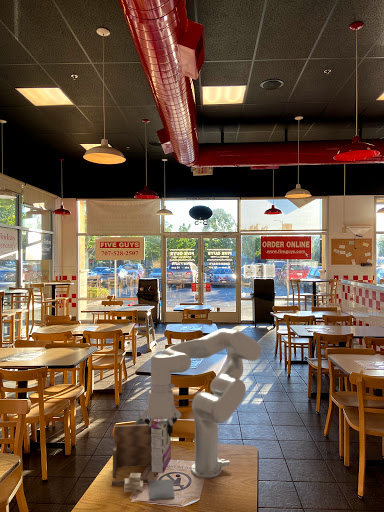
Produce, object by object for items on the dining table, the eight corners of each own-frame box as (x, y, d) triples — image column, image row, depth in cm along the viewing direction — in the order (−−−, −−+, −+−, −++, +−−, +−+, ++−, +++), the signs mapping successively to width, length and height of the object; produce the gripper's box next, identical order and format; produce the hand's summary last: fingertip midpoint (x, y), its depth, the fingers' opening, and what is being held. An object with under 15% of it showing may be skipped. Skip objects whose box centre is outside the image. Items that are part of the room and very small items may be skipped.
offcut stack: (142, 484, 152) (142, 472, 152) (142, 490, 147) (142, 478, 147) (124, 485, 151) (124, 473, 151) (124, 492, 147) (123, 479, 147)
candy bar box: (158, 458, 154) (158, 415, 154) (171, 459, 153) (171, 416, 153) (150, 472, 143) (150, 427, 143) (163, 474, 142) (163, 428, 142)
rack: (157, 463, 168) (157, 423, 168) (158, 482, 153) (158, 438, 153) (114, 466, 166) (114, 425, 166) (111, 486, 151) (111, 441, 151)
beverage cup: (148, 457, 173) (148, 412, 174) (132, 457, 173) (131, 412, 174) (150, 450, 180) (150, 406, 181) (134, 450, 180) (134, 406, 181)
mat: (172, 480, 154) (172, 479, 154) (174, 498, 142) (174, 496, 142) (149, 482, 153) (149, 480, 153) (149, 500, 141) (149, 498, 141)
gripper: (182, 383, 154) (182, 430, 153) (138, 385, 152) (138, 432, 151) (184, 389, 146) (184, 438, 146) (137, 391, 144) (137, 441, 144)
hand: (161, 435), depth 148 cm, fingers closed on candy bar box, 6 cm apart
